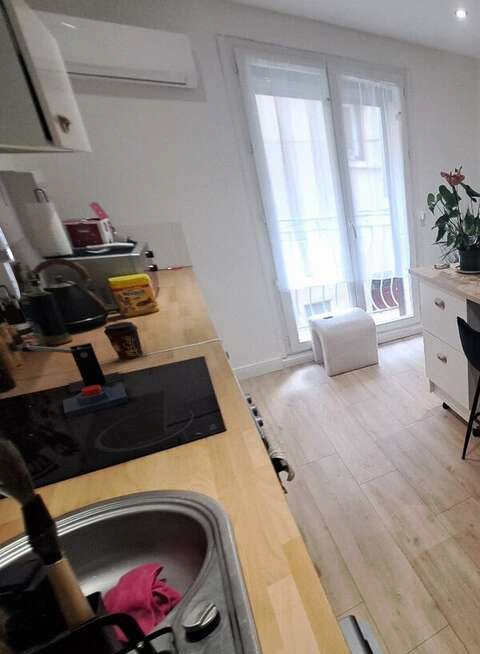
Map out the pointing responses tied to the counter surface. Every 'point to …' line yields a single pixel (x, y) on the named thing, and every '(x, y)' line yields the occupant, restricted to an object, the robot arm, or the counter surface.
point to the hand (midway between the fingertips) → (18, 320)
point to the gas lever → (44, 348)
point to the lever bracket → (89, 369)
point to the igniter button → (91, 390)
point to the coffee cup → (124, 340)
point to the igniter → (94, 401)
